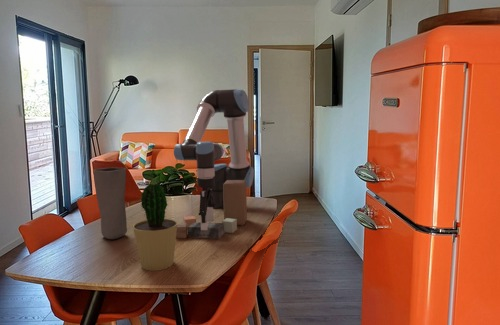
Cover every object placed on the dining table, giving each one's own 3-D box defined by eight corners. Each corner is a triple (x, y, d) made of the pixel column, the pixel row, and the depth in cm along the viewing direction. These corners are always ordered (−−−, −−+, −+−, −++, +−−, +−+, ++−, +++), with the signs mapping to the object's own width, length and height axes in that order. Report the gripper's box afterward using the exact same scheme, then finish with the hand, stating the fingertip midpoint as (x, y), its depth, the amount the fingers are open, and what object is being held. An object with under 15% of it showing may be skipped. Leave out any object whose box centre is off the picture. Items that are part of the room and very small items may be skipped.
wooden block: (247, 219, 205) (246, 179, 202) (244, 225, 195) (244, 183, 192) (227, 219, 206) (226, 179, 203) (223, 225, 196) (222, 183, 193)
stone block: (195, 231, 188) (195, 220, 187) (225, 233, 184) (225, 222, 184) (187, 237, 180) (187, 225, 179) (219, 239, 176) (218, 227, 175)
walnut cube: (175, 234, 183) (175, 223, 182) (187, 234, 183) (186, 223, 183) (174, 238, 178) (174, 227, 177) (186, 238, 178) (185, 226, 178)
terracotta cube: (183, 227, 194) (183, 217, 193) (194, 226, 195) (193, 215, 195) (185, 230, 189) (185, 219, 188) (196, 229, 191) (196, 218, 190)
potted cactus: (182, 256, 157) (178, 177, 153) (175, 272, 142) (171, 185, 137) (141, 257, 157) (136, 178, 152) (130, 273, 141) (124, 186, 137)
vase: (93, 237, 180) (88, 169, 176) (119, 231, 189) (115, 166, 185) (107, 244, 172) (103, 172, 168) (134, 236, 181) (130, 168, 177)
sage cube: (226, 228, 191) (226, 218, 190) (236, 229, 189) (236, 219, 188) (222, 231, 186) (222, 221, 185) (232, 232, 184) (232, 222, 184)
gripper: (203, 172, 192) (204, 217, 195) (190, 182, 168) (192, 233, 171) (219, 172, 192) (220, 217, 195) (208, 182, 167) (210, 234, 170)
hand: (207, 225), depth 183 cm, fingers open, 12 cm apart
